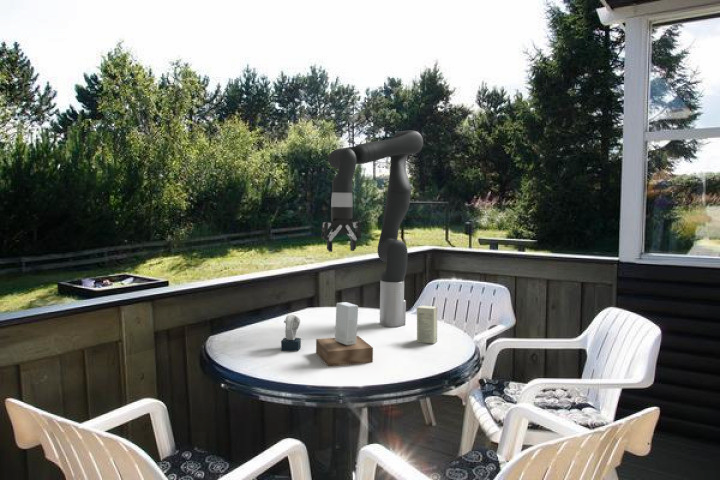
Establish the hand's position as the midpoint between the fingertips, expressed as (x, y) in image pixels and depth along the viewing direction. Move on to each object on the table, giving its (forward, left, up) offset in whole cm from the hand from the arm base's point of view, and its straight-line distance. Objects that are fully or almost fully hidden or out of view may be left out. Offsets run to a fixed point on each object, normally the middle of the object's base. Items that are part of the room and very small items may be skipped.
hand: (341, 251), depth 190 cm
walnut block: (+10, +26, -31) cm, 41 cm away
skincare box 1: (+9, +26, -26) cm, 38 cm away
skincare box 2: (-24, +20, -30) cm, 44 cm away
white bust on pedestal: (+22, +11, -30) cm, 39 cm away
